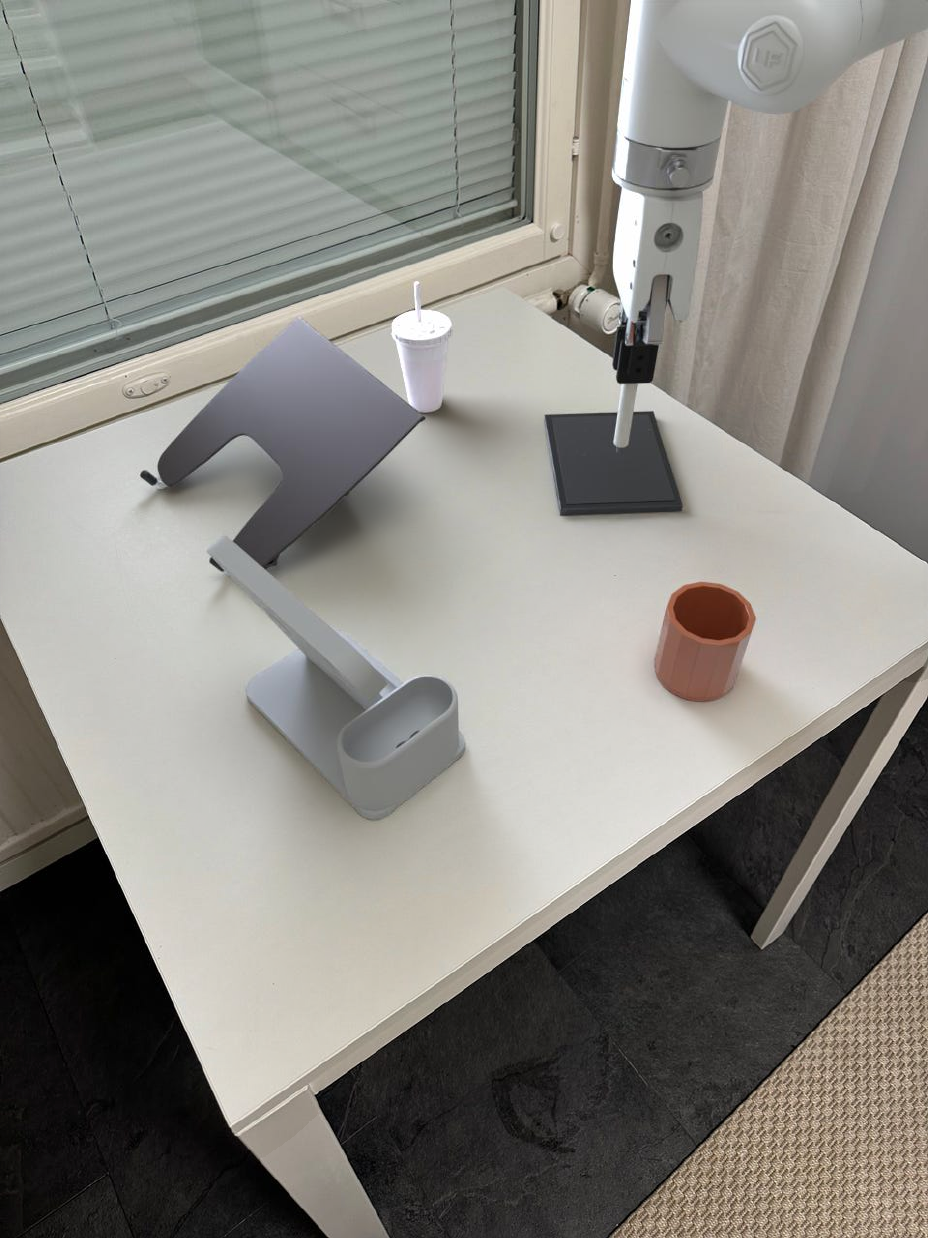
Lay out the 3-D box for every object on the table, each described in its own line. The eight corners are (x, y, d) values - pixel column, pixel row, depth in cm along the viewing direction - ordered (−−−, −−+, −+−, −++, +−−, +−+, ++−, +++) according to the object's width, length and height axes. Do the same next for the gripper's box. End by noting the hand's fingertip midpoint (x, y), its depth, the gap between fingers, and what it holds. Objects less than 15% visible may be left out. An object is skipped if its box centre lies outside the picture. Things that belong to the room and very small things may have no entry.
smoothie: (433, 381, 103) (428, 264, 93) (465, 406, 100) (463, 288, 90) (386, 399, 101) (376, 281, 91) (417, 426, 97) (410, 306, 87)
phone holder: (475, 750, 68) (475, 585, 55) (373, 832, 64) (347, 672, 51) (336, 629, 77) (308, 461, 64) (238, 693, 72) (185, 526, 59)
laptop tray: (182, 504, 98) (124, 457, 90) (331, 359, 99) (287, 300, 91) (284, 627, 85) (227, 585, 78) (455, 460, 86) (415, 402, 78)
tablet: (652, 416, 98) (653, 410, 98) (681, 511, 87) (683, 504, 87) (544, 420, 98) (544, 413, 97) (559, 515, 87) (560, 508, 86)
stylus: (625, 447, 86) (646, 312, 76) (627, 456, 85) (649, 320, 75) (611, 447, 86) (630, 312, 76) (613, 456, 85) (633, 321, 75)
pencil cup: (724, 638, 76) (742, 579, 71) (744, 701, 71) (765, 643, 66) (647, 640, 76) (660, 582, 71) (662, 704, 71) (677, 646, 66)
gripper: (741, 199, 61) (691, 425, 74) (693, 118, 71) (657, 329, 85) (631, 201, 61) (602, 427, 74) (599, 119, 71) (579, 331, 85)
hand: (632, 373), depth 79 cm, fingers closed on stylus, 1 cm apart
